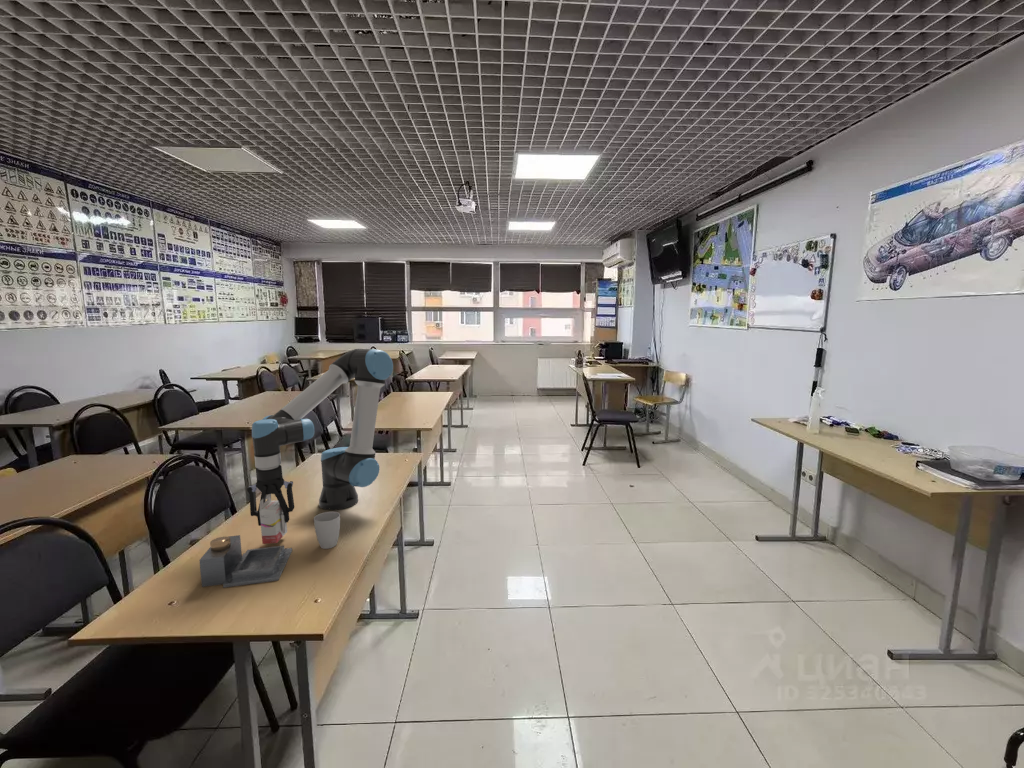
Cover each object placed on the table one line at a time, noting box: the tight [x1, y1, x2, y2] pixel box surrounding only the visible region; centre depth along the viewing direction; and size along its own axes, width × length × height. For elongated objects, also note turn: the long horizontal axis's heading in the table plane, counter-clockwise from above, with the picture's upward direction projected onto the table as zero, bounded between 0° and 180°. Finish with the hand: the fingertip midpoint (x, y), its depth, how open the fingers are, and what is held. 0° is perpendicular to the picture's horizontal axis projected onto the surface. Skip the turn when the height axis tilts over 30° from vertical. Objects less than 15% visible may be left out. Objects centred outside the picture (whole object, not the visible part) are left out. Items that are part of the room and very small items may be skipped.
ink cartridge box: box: [259, 494, 288, 545], centre depth 150 cm, size 9×5×15 cm, turn 5°
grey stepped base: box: [199, 534, 293, 589], centre depth 134 cm, size 20×18×10 cm
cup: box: [313, 511, 341, 550], centre depth 149 cm, size 8×8×10 cm
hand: (275, 532), depth 151 cm, fingers closed on ink cartridge box, 5 cm apart
